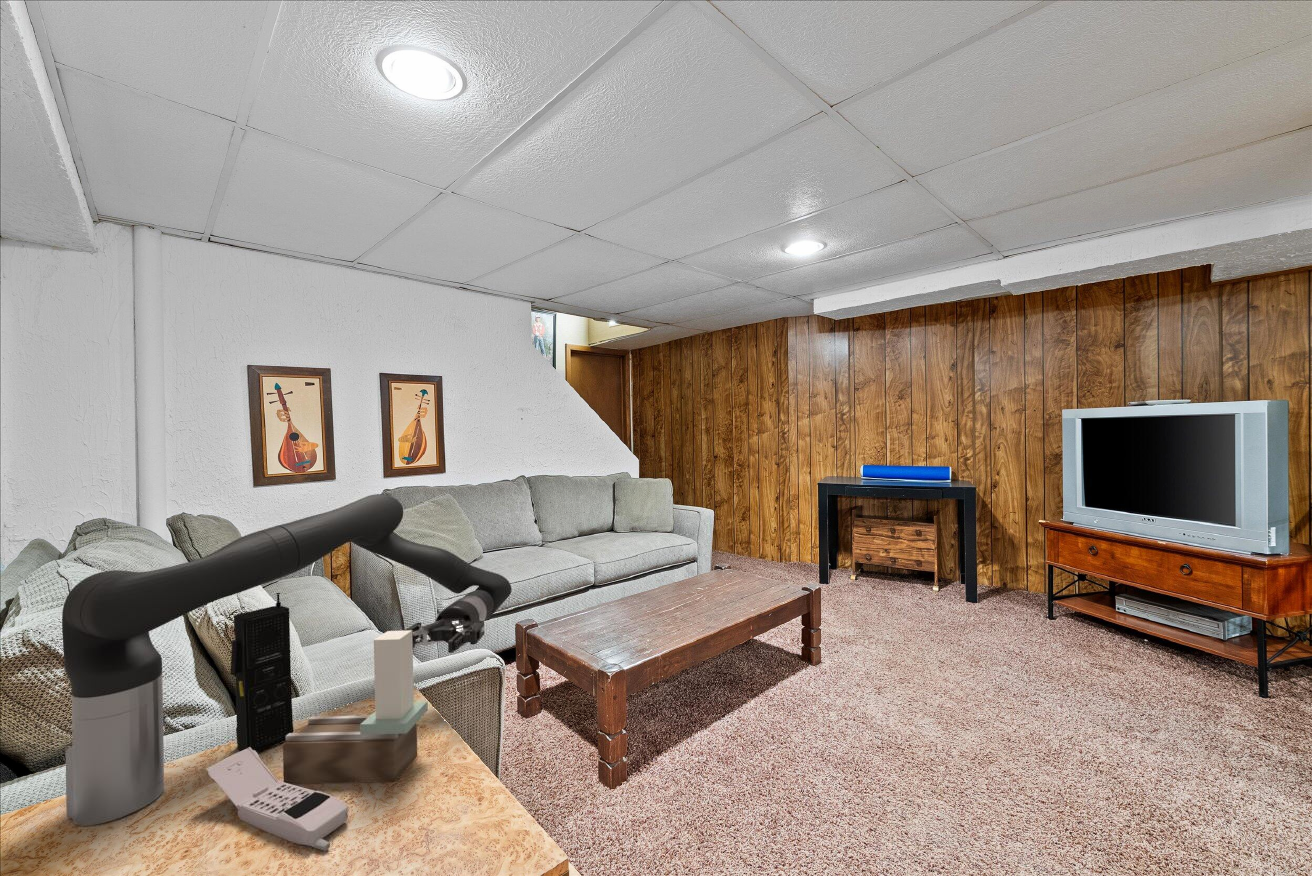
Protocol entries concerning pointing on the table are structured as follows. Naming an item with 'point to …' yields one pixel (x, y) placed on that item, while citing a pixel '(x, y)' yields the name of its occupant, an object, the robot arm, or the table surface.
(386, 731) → the white pillar on base
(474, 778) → the table surface
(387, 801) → the table surface
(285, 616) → the portable radio
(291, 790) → the mobile phone
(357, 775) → the walnut track
